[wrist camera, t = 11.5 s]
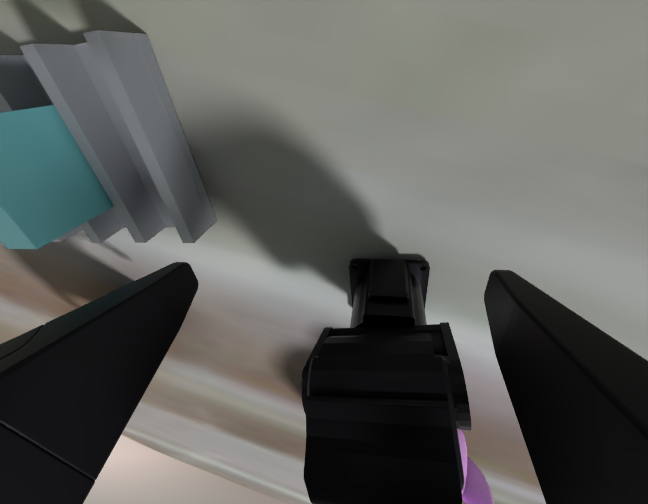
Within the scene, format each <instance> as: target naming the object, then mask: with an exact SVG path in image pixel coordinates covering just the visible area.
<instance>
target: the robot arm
mask: <svg viewBox="0 0 648 504" xmlns="http://www.w3.org/2000/svg"><path fill="white" fill-rule="evenodd" d="M354 264H356V265H358V266H354ZM421 266H425V267H424V268H421ZM349 270H350V282H351V294H352V307H353V310H352V317H351V324H350V328H336V329H332V327H327V328H324V330H323V332H322V334H321V336H320V338H319V339H318V341H317V343H316V345H315V347H314V349H313V351H312V353H311V355H310V357H309V358H308V360H307V363H306V365H305V367H304V369H303V371H302V382H301V390H302V402H303V408H304V412H305V414H306V434H307V436H306V453H305V465H304V481H305V484H306V488H307V491H308V495H309V498H310V501H311V503H312V504H462V490H463V486H464V473H463V466H462V459H461V452H460V445H459V439H458V432H457V429H459V430H471V417H470V409H469V402H468V395H467V390H466V384H465V379H464V374H463V370H462V366H461V362H460V359H459V356H458V352H457V349H456V346H455V342H454V339H453V336H452V333H451V329H450V326H449V323H448V322H447V323H440V324H435V325H427V324H426V317H425V302H426V294H427V286H428V278H429V270H430V267H429V263H428V262H427V261H424V260H388V259H374V260H372V259H353V260H351V261H350V265H349ZM197 289H198V280H197V278H196V276H195V274H194V272H193V270H192V268H191V266H190V265H189V264H188V263H186V262H175V263H172V264H170V265H168V266H166V267H164V268H162V269H160V270H158V271H155V272H153V273H151V274H149V275H147V276H145V277H143V278H141V279H138V280H136V281H134V282H132V283H130V284H128V285H126V286H124V287H122V288H119V289H117V290H115V291H113V292H111V293H109V294H107V295H105V296H102V297H100V298H98V299H96V300H94V301H92V302H90V303H88V304H86V305H83V306H81V307H79V308H77V309H75V310H73V311H71V312H69V313H66V314H64V315H62V316H60V317H58V318H56V319H54V320H52V321H50V322H47V323H46V324H45V325H41V326H39V327H37V328H35V329H33V330H30V331H28V332H26V333H24V334H22V335H20V336H17V337H15V338H13V339H11V340H9V341H7V342H4V343H2V344H0V504H83V502H84V500H85V499H86V497H87V495H88V493H89V492H90V490H91V488H92V486H93V485H94V483H95V480H96V479H97V477H98V475H99V473H100V471H101V470H102V468H103V466H104V464H105V462H106V461H107V459H108V457H109V455H110V453H111V452H112V450H113V448H114V446H115V445H116V443H117V441H118V439H119V437H120V436H121V434H122V432H123V430H124V428H125V427H126V425H127V423H128V421H129V419H130V418H131V416H132V414H133V412H134V411H135V409H136V407H137V405H138V403H139V402H140V400H141V398H142V396H143V394H144V393H145V391H146V389H147V387H148V385H149V384H150V382H151V380H152V378H153V376H154V375H155V373H156V371H157V369H158V368H159V366H160V364H161V362H162V360H163V359H164V357H165V355H166V353H167V351H168V350H169V348H170V346H171V344H172V342H173V341H174V339H175V337H176V335H177V333H178V332H179V330H180V328H181V325H182V323H183V321H184V319H185V317H186V314H187V312H188V310H189V308H190V305H191V303H192V301H193V298H194V296H195V294H196V292H197ZM484 302H485V307H486V312H487V316H488V321H489V326H490V331H491V336H492V340H493V345H494V350H495V354H496V357H497V360H498V364H499V367H500V370H501V373H502V375H503V378H504V381H505V384H506V387H507V390H508V393H509V396H510V399H511V402H512V405H513V408H514V411H515V413H516V416H517V419H518V422H519V425H520V428H521V431H522V434H523V437H524V440H525V443H526V446H527V449H528V451H529V454H530V457H531V460H532V463H533V466H534V469H535V472H536V475H537V478H538V481H539V484H540V486H541V489H542V492H543V495H544V498H545V501H546V504H648V361H647V360H646V359H644V358H642V357H641V356H639V355H638V354H636V353H635V352H633V351H632V350H630V349H629V348H627V347H626V346H624V345H623V344H621V343H620V342H618V341H617V340H615V339H614V338H612V337H611V336H609V335H608V334H606V333H605V332H603V331H602V330H600V329H599V328H597V327H596V326H594V325H593V324H591V323H590V322H588V321H587V320H585V319H584V318H582V317H581V316H579V315H578V314H576V313H575V312H573V311H572V310H570V309H569V308H567V307H566V306H564V305H563V304H561V303H559V302H558V301H556V300H555V299H553V298H552V297H550V296H549V295H547V294H546V293H544V292H543V291H541V290H540V289H538V288H537V287H535V286H534V285H532V284H531V283H529V282H528V281H526V280H525V279H523V278H522V277H520V276H519V275H517V274H516V273H514V272H513V271H510V270H493V271H492V272H491V273H490V276H489V280H488V283H487V287H486V290H485V294H484Z"/></svg>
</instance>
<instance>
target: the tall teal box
mask: <svg viewBox="0 0 648 504" xmlns="http://www.w3.org/2000/svg"><path fill="white" fill-rule="evenodd" d="M112 207H114V205H113V204H112V202H111V200H110V198H109V197H108V195H107V193H106V192H105V190H104V188H103V187H102V185H101V183H100V182H99V180H98V178H97V177H96V175H95V173H94V172H93V170H92V168H91V166H90V165H89V163H88V161H87V160H86V158H85V156H84V155H83V153H82V151H81V150H80V148H79V146H78V145H77V143H76V141H75V140H74V138H73V136H72V134H71V133H70V131H69V129H68V128H67V126H66V124H65V123H64V121H63V119H62V118H61V116H60V114H59V113H58V111H57V109H56V107H55V106H54V105H48V106H41V107H35V108H28V109H21V110H15V111H8V112H1V113H0V242H1V243H2V244H3V245H4V246H5V247H6V248H7V249H39V248H40V247H42V246H44V245H46V244H48V243H49V242H51V241H53V240H55V239H57V238H58V237H60V236H62V235H64V234H66V233H67V232H69V231H71V230H73V229H75V228H76V227H78V226H80V225H82V224H84V223H85V222H87V221H89V220H91V219H93V218H94V217H96V216H98V215H100V214H102V213H103V212H105V211H107V210H109V209H111V208H112Z"/></svg>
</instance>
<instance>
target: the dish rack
mask: <svg viewBox="0 0 648 504" xmlns="http://www.w3.org/2000/svg"><path fill="white" fill-rule="evenodd" d="M83 35H84V37H85V39H86V41H87V42H86V43H80V44H75V45H66V44H34V43H32V44H27V45H23V46H19V47H20V49H21V50H22V52H23V54H24V55H0V113H1V112H8V111H15V110H21V109H28V108H35V107H41V106H48V105H54V106H55V107H56V109H57V111H58V113H59V114H60V116H61V118H62V119H63V121H64V123H65V124H66V126H67V128H68V129H69V131H70V133H71V134H72V136H73V138H74V140H75V141H76V143H77V145H78V146H79V148H80V150H81V151H82V153H83V155H84V156H85V158H86V160H87V161H88V163H89V165H90V166H91V168H92V170H93V172H94V173H95V175H96V177H97V178H98V180H99V182H100V183H101V185H102V187H103V188H104V190H105V192H106V193H107V195H108V197H109V198H110V200H111V202H112V204H113V205H114V207H112V208H111V209H109V210H107V211H105V212H103V213H102V214H100V215H98V216H96V217H94V218H93V219H91V220H89V221H87V222H85V223H84V224H82V225H80V226H78V227H76V228H75V229H73V230H71V231H69V232H67V233H66V234H64V235H62V236H60V237H58V238H57V239H55V240H53V241H52V242H62V241H63V240H65V239H67V238H69V237H70V236H72V235H74V234H76V233H77V232H79V231H81V230H84V231H85V233H86V234H87V236H88V237H89V238H90V240H91V241H92V242H103V241H104V240H106V239H107V238H109V237H110V236H112V235H113V234H115V233H116V232H118V231H119V230H121V229H123V228H125V227H127V229H128V231H129V232H130V234H131V236H132V237H133V239H134V241H135V242H143V243H146V242H147V241H148V240H150V239H151V238H152V237H154V236H155V235H156V234H157V233H159V232H160V231H161V230H163V229H164V228H165V227H176V229H177V231H178V233H179V235H180V238H181V240H182V242H183V243H194V242H195V241H196V240H197V239H199V238H200V237H201V236H202V235H203V234H204V233H205V232H206V231H207V230H208V229H209V228H210V227H211V226H212V225H213V224H215V223H216V222H217V220H216V217H215V214H214V212H213V209H212V206H211V204H210V201H209V198H208V196H207V193H206V190H205V188H204V185H203V182H202V180H201V177H200V175H199V172H198V169H197V167H196V164H195V161H194V159H193V156H192V153H191V151H190V148H189V145H188V143H187V140H186V137H185V135H184V132H183V129H182V127H181V124H180V121H179V119H178V116H177V113H176V111H175V108H174V105H173V103H172V100H171V98H170V95H169V92H168V90H167V87H166V84H165V82H164V79H163V76H162V74H161V71H160V68H159V66H158V63H157V60H156V58H155V55H154V52H153V50H152V47H151V44H150V42H149V39H148V36H147V34H141V33H127V32H115V31H104V30H96V31H91V32H86V33H83Z"/></svg>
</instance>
